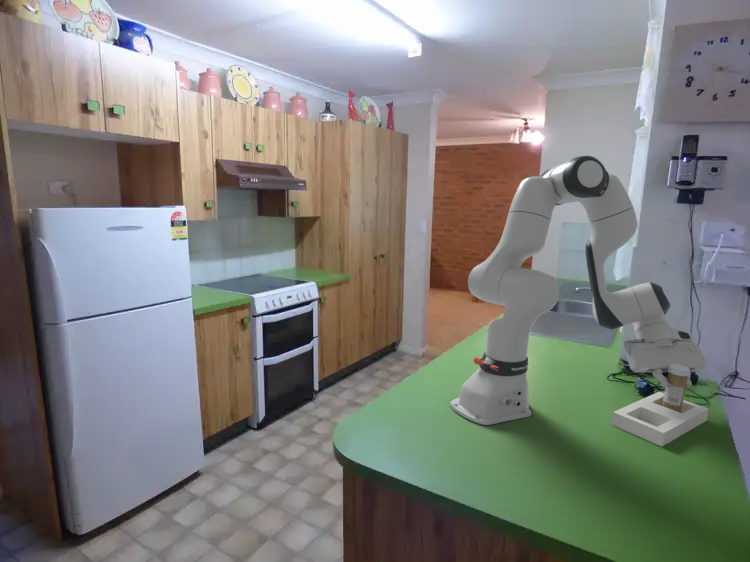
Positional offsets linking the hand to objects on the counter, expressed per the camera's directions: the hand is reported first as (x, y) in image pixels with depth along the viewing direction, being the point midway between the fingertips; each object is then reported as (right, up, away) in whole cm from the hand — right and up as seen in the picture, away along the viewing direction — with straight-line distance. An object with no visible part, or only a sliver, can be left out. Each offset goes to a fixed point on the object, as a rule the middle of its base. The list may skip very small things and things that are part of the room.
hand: (677, 386), depth 115 cm
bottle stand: (-6, -9, -1) cm, 11 cm away
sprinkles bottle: (0, -8, +2) cm, 8 cm away
